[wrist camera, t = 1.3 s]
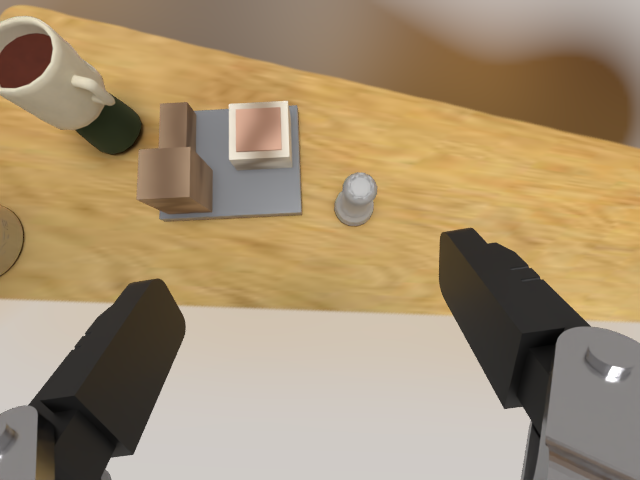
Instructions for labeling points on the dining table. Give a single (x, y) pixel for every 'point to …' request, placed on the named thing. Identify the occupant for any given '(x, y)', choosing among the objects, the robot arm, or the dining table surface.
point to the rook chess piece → (356, 199)
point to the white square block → (260, 135)
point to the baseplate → (243, 175)
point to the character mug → (61, 86)
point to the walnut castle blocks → (175, 166)
